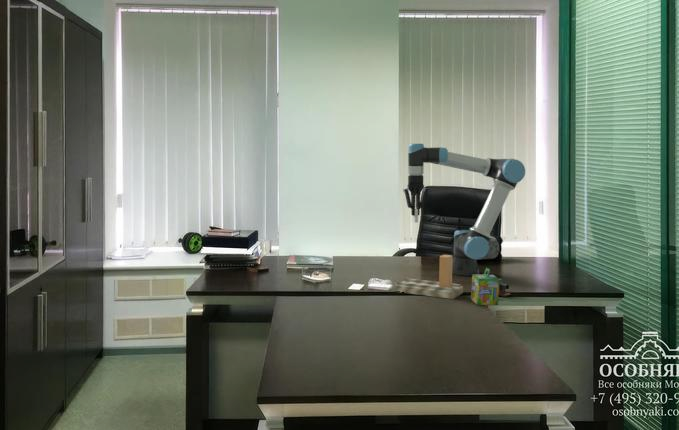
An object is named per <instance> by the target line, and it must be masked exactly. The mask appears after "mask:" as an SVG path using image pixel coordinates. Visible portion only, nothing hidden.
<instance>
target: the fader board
mask: <svg viewBox="0 0 679 430" xmlns="http://www.w3.org/2000/svg"><path fill="white" fill-rule="evenodd" d="M395 291H400V292H399V293H402V292H404V293H403V294H410V295H411V294H412V295H418V296H426V297H427V296H428V297H434V298H443V299H449V300H454V299H456V298H457V297H459V296H460V295H462V294H463V293H464V286H462V285H461V283H452V286H451V287H449V288H448V287H439V281H433V280H425V279H424V280H423V279H417V278H416V279H415V278H404V280H403V281H397V282H396V284H394V292H395Z"/></svg>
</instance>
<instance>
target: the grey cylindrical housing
mask: <svg viewBox="0 0 679 430" xmlns="http://www.w3.org/2000/svg"><path fill="white" fill-rule="evenodd" d="M490 236H491V239H490V241H489V243H488V244H489V250H488V253H487V254H486V255H485V256H484V257H483V258H480V259H476V261H477V260H478V261H481V260H491V259H492V260H496V261H497V262H501V260H502V259H503V255H502V250H503V249H502V248H503V247H502V244H503V241H504V239H503V238H502V236H501V235H498V236H496V235H491V234H490ZM450 243H451V253H450V255H453V259H454V235H453V236H452V237H451V238H450Z"/></svg>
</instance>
